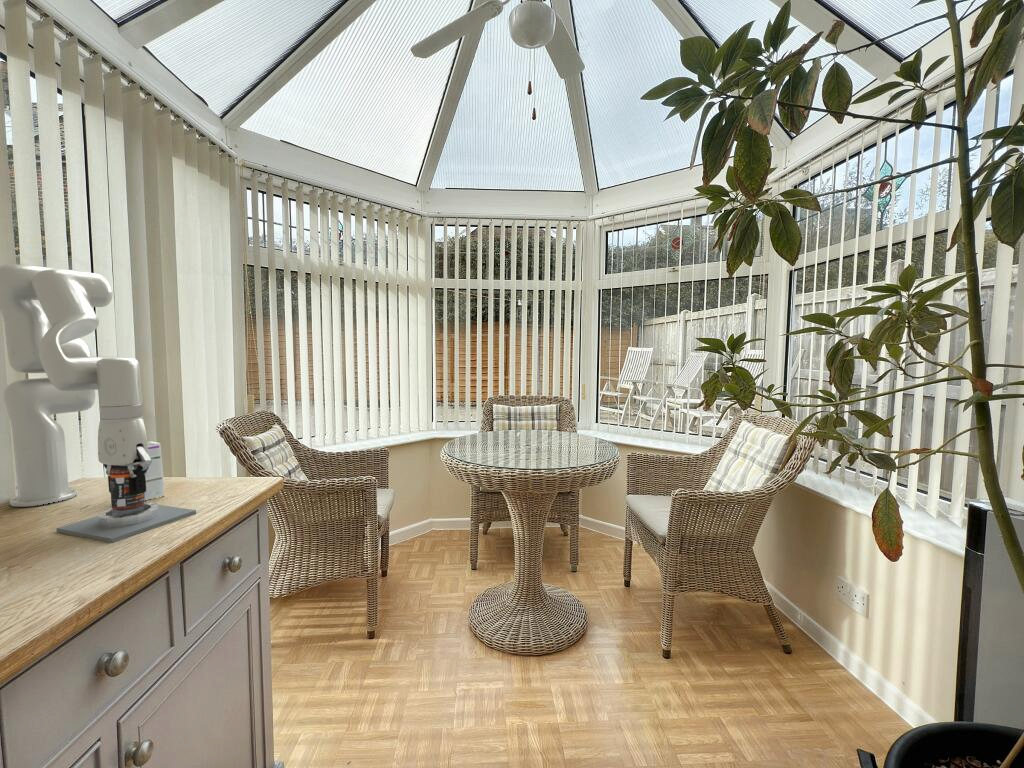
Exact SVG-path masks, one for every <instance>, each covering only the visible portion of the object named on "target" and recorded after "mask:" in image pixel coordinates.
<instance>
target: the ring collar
mask: <svg viewBox="0 0 1024 768" xmlns="http://www.w3.org/2000/svg"><path fill="white" fill-rule="evenodd" d="M157 505H158V504H157V503H155V502H148V501H147V502H145V504H144V505H143V506H141V507H139V508H135V509H131V510H124V511H117V510H113V509H112V507H111V508H108V509H106V510H103V511H102V512H100V513H99V512H98V516H99V526H102V527H108V528H109V527H123V526H128V525H134V524H139V523H142V522H145V521H148V520H151V519H153V518H155V517H156V516H158V506H157ZM132 513H136V514H132ZM127 514H131V515H127ZM122 515H125V516H122Z"/></svg>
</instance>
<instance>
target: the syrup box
mask: <svg viewBox="0 0 1024 768" xmlns="http://www.w3.org/2000/svg"><path fill="white" fill-rule="evenodd" d="M147 441H148V455H149V457H150V458H151V460H152V463H151V464H150V466H149V468H148V470H147V474H146V475H145V479H146V492H144V495H145V500H146V501H149V500H148V499H151V500H153V499H152V498H155V499H157V498H156V497H159V498H161V497H160V496H163V497H165V496H164V495H165V483H164V482H165V481H164V470H163V460H162V458H163V457H162V446H161V443H160V442H155V441H153V440H150V441H149V440H147Z"/></svg>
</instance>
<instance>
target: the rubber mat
mask: <svg viewBox="0 0 1024 768" xmlns="http://www.w3.org/2000/svg"><path fill="white" fill-rule="evenodd" d="M157 506H158V516H156V517H155V518H153V519H151V520H148V521H145V522H142V523H139V524H134V525H128V526H123V527H109V528H108V527H102V526H99V515H95V516H94V517H93V516H92V517H90V518H86V519H82V520H79V521H75V522H73V523H69V524H65V525H62V526H59V527H56V529H55V530H56V531H57V533H60V532H61V533H62V534H66V535H71V536H78V537H80V538H81V537H83V538H87V539H93V540H98V541H101V542H107V543H116V542H117V541H120V540H123V539H126V538H129V537H132V536H136V535H138V534H141V533H144V532H147V531H150V530H153V529H155V527H156V528H158V526H159V527H161V526H164V525H167V524H169V523H173V522H176V521H178V520H181V518H182V519H184V518H187V517H190V516H193V515H196V514H197V510H196V509H190V508H185V507H178V506H176V507H175V506H170V505H164V504H163V505H162V504H157ZM132 514H136V513H132ZM127 515H131V514H127ZM122 516H125V515H122ZM149 529H150V530H149Z"/></svg>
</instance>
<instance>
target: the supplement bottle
mask: <svg viewBox="0 0 1024 768" xmlns="http://www.w3.org/2000/svg"><path fill="white" fill-rule="evenodd" d="M135 462H137V460H134V461H133V463H135ZM137 467H138V465H137V466H134V469H135V470H136V468H137ZM128 478H131V476H130V473H129V470H128V467H127V466H116V465H115V467H114V468H113V469H112V470H111V471H110V490H111V493H110V501H111V504H110V505H111V508H112V509H113V510H117V511H124V510H131V509H135V508H139V507H141V506H143V505H144V504H145V503H146V501H145V495H144V493H141V494H137V495H133V496H132V495H130V493H129V480H128Z"/></svg>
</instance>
